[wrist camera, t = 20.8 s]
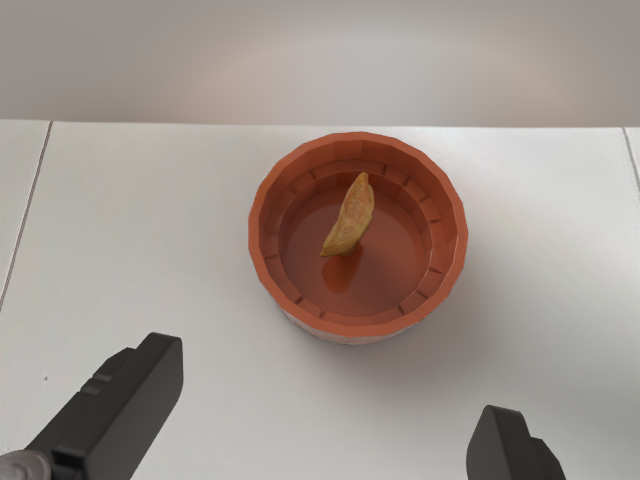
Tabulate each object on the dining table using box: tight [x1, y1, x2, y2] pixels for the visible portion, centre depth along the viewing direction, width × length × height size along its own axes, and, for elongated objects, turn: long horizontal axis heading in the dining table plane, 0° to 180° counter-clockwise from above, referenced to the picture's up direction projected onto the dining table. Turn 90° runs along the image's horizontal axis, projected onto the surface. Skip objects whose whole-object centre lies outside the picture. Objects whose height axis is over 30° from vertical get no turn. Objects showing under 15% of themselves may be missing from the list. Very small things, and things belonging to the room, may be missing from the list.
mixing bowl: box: [248, 132, 468, 345], centre depth 34 cm, size 17×17×7 cm
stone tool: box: [320, 172, 374, 257], centre depth 30 cm, size 5×2×15 cm, turn 142°
